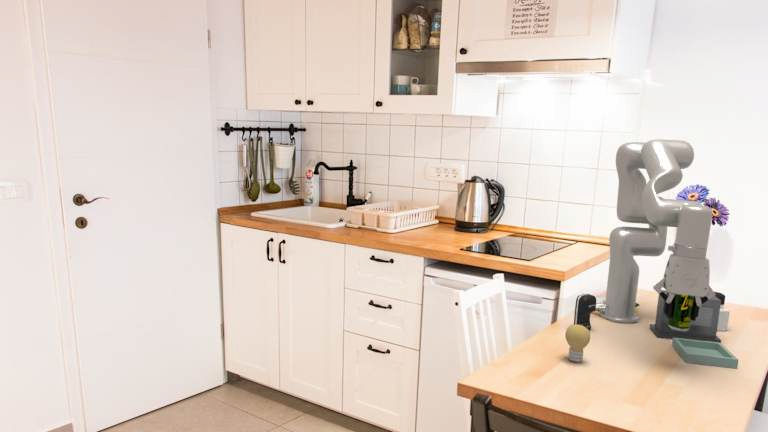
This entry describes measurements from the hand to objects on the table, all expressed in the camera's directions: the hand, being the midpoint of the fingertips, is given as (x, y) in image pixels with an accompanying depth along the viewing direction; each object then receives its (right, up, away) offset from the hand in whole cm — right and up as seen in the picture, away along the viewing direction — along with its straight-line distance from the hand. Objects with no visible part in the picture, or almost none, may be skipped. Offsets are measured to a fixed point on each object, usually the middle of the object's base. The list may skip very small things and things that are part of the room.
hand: (679, 317), depth 149 cm
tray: (+12, -13, +11) cm, 21 cm away
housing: (+16, -11, +27) cm, 34 cm away
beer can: (0, -3, +1) cm, 3 cm away
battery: (-15, -10, +29) cm, 34 cm away
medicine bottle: (+30, -11, +38) cm, 49 cm away
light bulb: (-27, -13, +4) cm, 30 cm away
